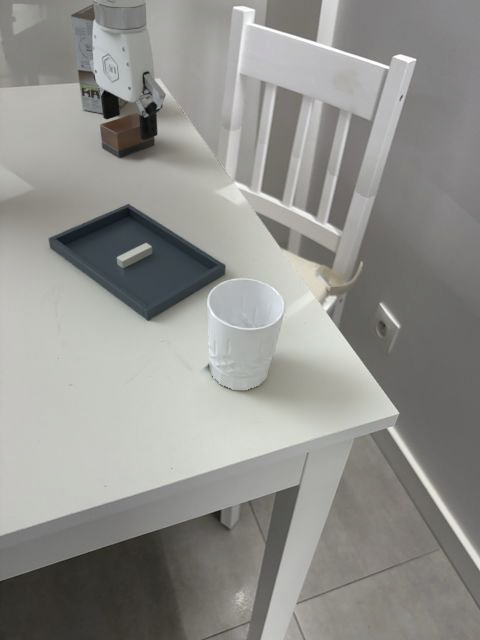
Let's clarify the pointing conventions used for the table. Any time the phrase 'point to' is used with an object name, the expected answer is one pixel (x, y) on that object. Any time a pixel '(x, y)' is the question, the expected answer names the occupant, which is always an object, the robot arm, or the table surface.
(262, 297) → the white cup
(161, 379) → the table surface
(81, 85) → the coffee box
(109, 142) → the eraser
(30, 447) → the table surface
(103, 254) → the tray
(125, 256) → the chalk
